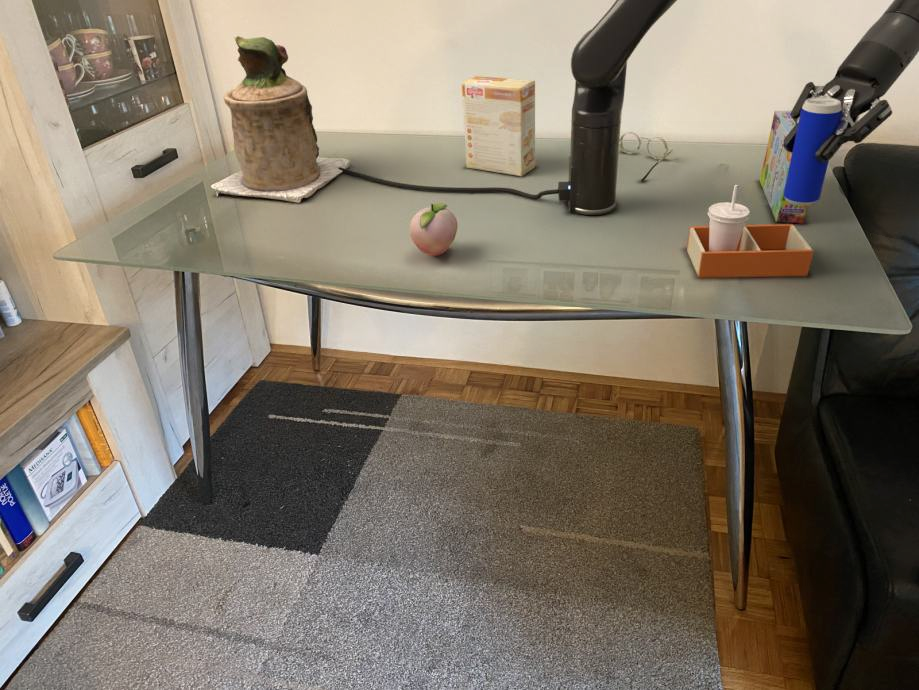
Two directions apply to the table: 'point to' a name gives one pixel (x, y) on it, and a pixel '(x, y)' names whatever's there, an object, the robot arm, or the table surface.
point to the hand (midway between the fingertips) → (802, 154)
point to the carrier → (752, 253)
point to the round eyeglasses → (648, 150)
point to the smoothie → (726, 224)
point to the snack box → (780, 171)
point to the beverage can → (810, 150)
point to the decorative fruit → (433, 229)
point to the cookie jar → (273, 130)
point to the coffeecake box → (499, 124)
